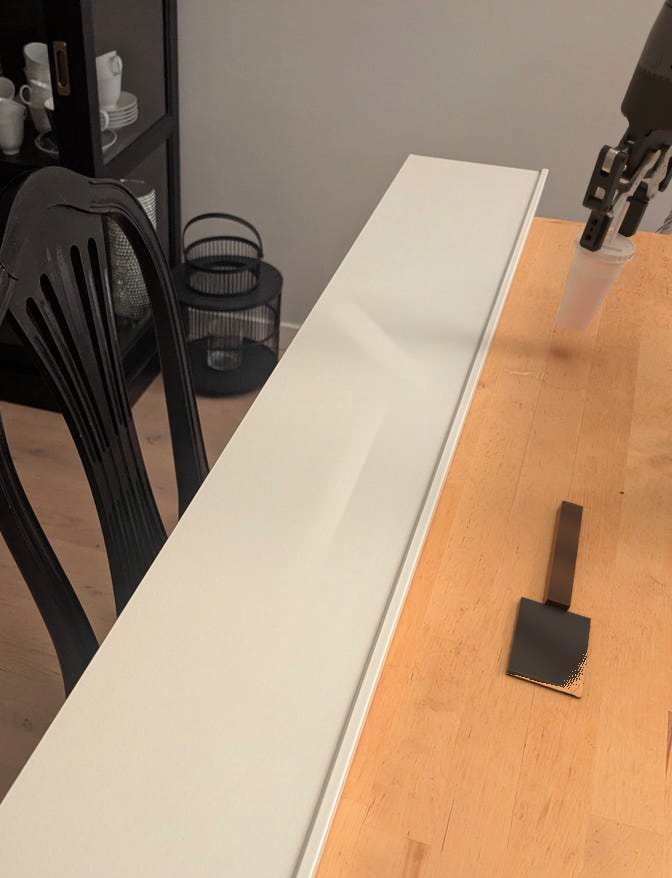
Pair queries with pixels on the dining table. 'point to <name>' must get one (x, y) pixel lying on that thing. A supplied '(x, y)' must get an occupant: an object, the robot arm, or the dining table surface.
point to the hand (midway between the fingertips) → (606, 240)
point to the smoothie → (593, 277)
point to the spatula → (553, 614)
